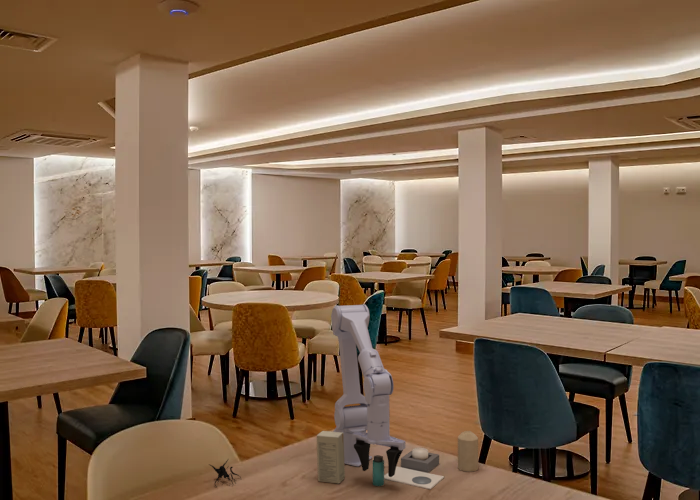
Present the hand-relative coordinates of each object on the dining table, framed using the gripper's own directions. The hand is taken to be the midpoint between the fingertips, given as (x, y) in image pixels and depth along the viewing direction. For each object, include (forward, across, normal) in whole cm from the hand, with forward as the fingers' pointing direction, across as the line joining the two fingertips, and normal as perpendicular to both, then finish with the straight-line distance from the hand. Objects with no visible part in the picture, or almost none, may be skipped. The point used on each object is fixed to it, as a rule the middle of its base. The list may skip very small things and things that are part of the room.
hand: (378, 472), depth 161 cm
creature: (+3, -35, -19) cm, 40 cm away
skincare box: (+3, -12, -4) cm, 13 cm away
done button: (+2, +4, +17) cm, 18 cm away
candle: (+3, +16, +22) cm, 27 cm away
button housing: (+3, +4, +17) cm, 18 cm away
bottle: (+3, 0, 0) cm, 3 cm away
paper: (+3, +6, +8) cm, 10 cm away
